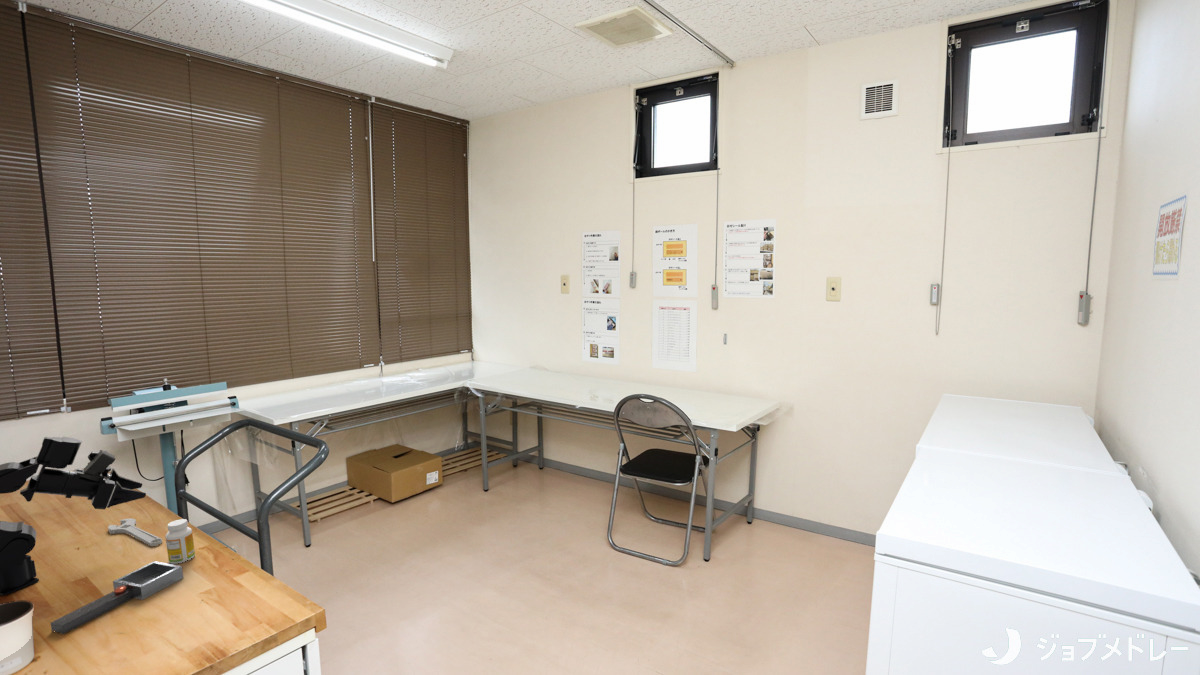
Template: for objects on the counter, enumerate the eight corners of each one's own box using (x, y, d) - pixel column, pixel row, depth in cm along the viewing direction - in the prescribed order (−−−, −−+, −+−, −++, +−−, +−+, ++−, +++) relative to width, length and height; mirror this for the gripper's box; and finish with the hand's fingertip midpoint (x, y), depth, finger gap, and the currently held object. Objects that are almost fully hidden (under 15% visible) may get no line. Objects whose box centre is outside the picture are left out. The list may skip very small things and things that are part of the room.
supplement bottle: (191, 551, 146) (186, 515, 145) (198, 557, 142) (193, 521, 141) (166, 560, 142) (161, 523, 140) (172, 566, 138) (167, 529, 137)
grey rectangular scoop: (72, 637, 112) (70, 623, 112) (43, 629, 115) (40, 615, 115) (183, 578, 133) (181, 566, 133) (156, 572, 136) (154, 561, 135)
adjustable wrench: (165, 545, 151) (164, 538, 150) (135, 555, 146) (134, 549, 145) (132, 522, 165) (131, 516, 165) (104, 530, 160) (103, 525, 160)
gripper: (79, 458, 131) (160, 468, 141) (77, 442, 144) (151, 452, 155) (59, 506, 129) (142, 513, 139) (59, 485, 142) (135, 492, 153)
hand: (143, 490), depth 147 cm, fingers open, 9 cm apart
